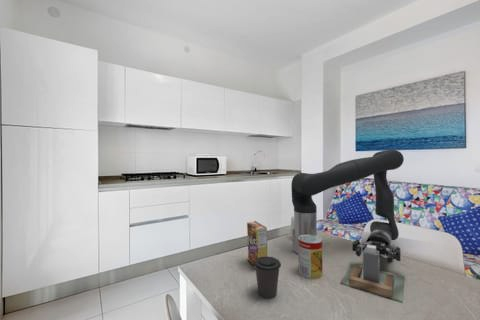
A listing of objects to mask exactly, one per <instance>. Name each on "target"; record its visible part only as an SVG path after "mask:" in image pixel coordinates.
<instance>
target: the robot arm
mask: <svg viewBox="0 0 480 320" xmlns="http://www.w3.org/2000/svg"><path fill="white" fill-rule="evenodd" d="M404 160H405V159H404V155H403V153H402V152H401V151H399V150H398V149H386V150H381V151H377V152H375V153H374V154H373V155H372V156H369V157H368V156H367V157H361V158H355V159H350V160H346V161H343V162H340V163H338V164H336V165H334V166H332V167H331V168H330V169H328V170H325V171H321V172H316V173H308V172H307V173H306V172H298V173H296V174H295V175H294V176H293V177H292V180H291V202H292V206H293V216H294V228H293V229H292V238H291V240H292V242H291V243H292V245H291V246H292V252H295V253H296V254H298V255H299V247H298V238H299V236H301V235H315V236H318V231H317V229H318V226H317V225H318V221H317V220H318V219H317V218H318V217H317V216H318V215H317V213H318V210H317V205H316V203H315V202H314V199H313V196H316V195H318V194H320V193H322V192H324V191H325V192H326V191H327V190H328V189H332V188H335V187H340V186H344V185H346V184H351V183H353V182H356V181H357V182H358V181H360V180H363V179H365V178H367V177H370V176H372V175H373V181H374V187H375V188H374V189H375V206H374V207H375V209H374V210H375V212H374V213H375V215H376V216H379V217H381V218H385V219H387V221H388V222H385V221H377V220H376V221H375V220H374V221H372V222H371V223H370V226H369V231H370V233H369V235H368V237H367V239H366V240H365V241H364V242H361V241H360V239H355V241H353V242H352V247H351V248H352V249H351V251H353V252H355V255H356V257H358V258H359V257H361V255H362V254H363V252H364V249H365V248H366V247H367V244H368V245H373V246H376V250H377V251H379V257H381V256H382V257H383V258H384V259H386V263H387V264H389V265H390V264H392V263H393V262H394V260H395V261H396V262H401V247H398V246H397V247H395V248H391V247H392V241H396V240H397V239H398V238H399V235H400V234H399V229H398V225H397V222H396V218H395V198H394V197H395V196H394V194H393V191H392V190H391V189H392V188H391V187H390V186H389V183H388V180H387V173H388V171H393V170H397V169H399V168H400V167H402V165H403V164H404Z"/></svg>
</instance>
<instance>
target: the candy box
mask: <svg viewBox="0 0 480 320" xmlns="http://www.w3.org/2000/svg"><path fill="white" fill-rule="evenodd" d="M246 227H247V228H246V229H247V258H248V259H247V261H248V260H249V261H250V262H251V263H252V264H253V265H254V261H255V260H256V259H257V258H259V257H269V256H268V227H267V226H265V225H263V224H262V223H259V222H258V221H256V220H255V221H253V220H252V221H249V222H248V221H247V222H246ZM249 261H248V262H249ZM250 262H249V263H250ZM251 263H250V264H251ZM252 264H251V265H252ZM253 265H252V266H253Z"/></svg>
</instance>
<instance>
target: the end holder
mask: <svg viewBox="0 0 480 320" xmlns="http://www.w3.org/2000/svg"><path fill="white" fill-rule="evenodd" d="M339 283H340V284H341V285H344V286H347V287H350V288H354V289H357V290H360V291H364V292H367V293H369V294H373V295H377V296H379V297H382V298H386V299H389V300H393V301H395V302H397V303H398V302H399V303H403V299H404V287H405V276H404V275H399V274H397V273H392V272H388V271H384V270H380V283H375V282H372V281H368V280H365V279H363V265H360V264H357V263H356V264H355V263H350V265H349V266H348V267H347V270H346V271H345V273H344V275H343V276H342V279H341V280H340V282H339Z"/></svg>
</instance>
